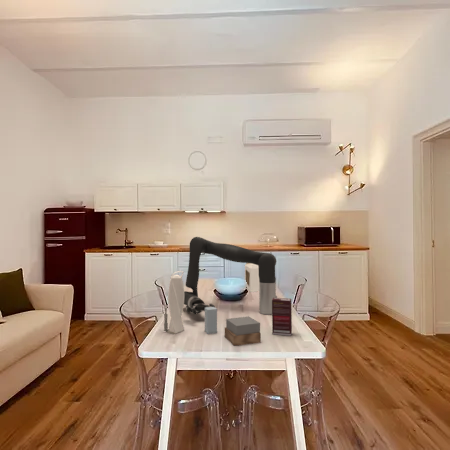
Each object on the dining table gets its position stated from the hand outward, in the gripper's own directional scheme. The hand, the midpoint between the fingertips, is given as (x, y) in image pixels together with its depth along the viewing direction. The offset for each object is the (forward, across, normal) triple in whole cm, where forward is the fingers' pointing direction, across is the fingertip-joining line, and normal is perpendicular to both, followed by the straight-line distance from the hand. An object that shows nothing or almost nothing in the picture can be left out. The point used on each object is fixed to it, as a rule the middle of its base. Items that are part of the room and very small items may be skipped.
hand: (204, 311), depth 167 cm
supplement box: (+24, +30, +7) cm, 39 cm away
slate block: (+11, 0, +7) cm, 13 cm away
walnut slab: (+25, +10, +7) cm, 28 cm away
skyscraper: (+4, -15, +7) cm, 17 cm away
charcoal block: (+25, +10, +3) cm, 27 cm away
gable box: (-75, +62, +7) cm, 97 cm away
